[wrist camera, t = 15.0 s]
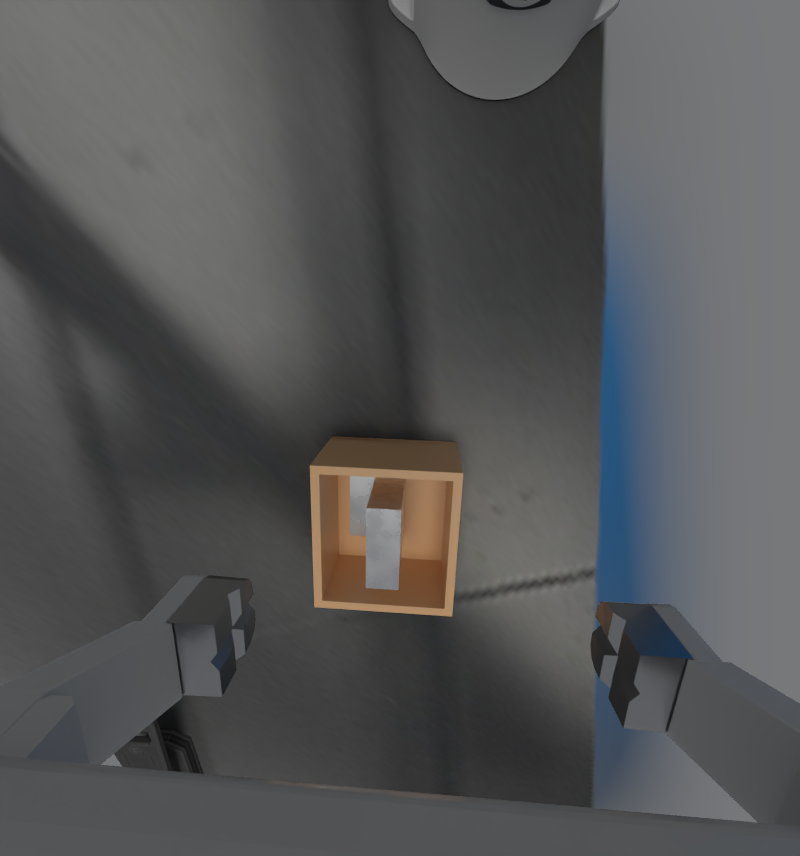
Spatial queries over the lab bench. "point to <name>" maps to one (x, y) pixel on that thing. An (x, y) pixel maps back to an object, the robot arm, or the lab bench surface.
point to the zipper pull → (160, 751)
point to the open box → (423, 524)
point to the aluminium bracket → (379, 526)
